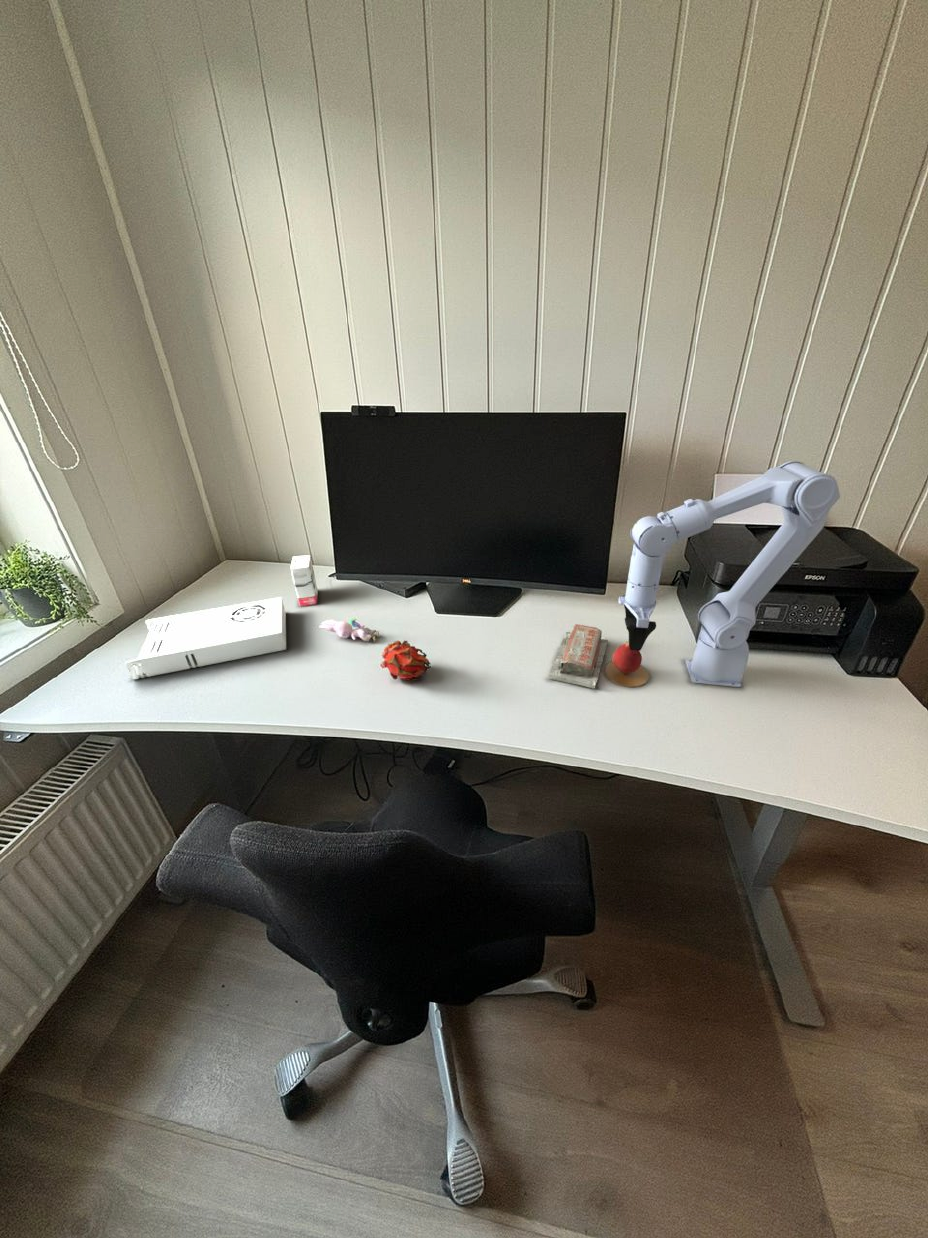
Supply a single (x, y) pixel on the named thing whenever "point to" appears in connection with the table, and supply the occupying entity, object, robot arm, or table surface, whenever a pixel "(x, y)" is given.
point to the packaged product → (579, 657)
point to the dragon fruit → (404, 661)
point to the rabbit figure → (349, 629)
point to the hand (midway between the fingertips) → (633, 638)
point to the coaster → (626, 676)
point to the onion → (626, 659)
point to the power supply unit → (211, 637)
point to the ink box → (304, 580)
